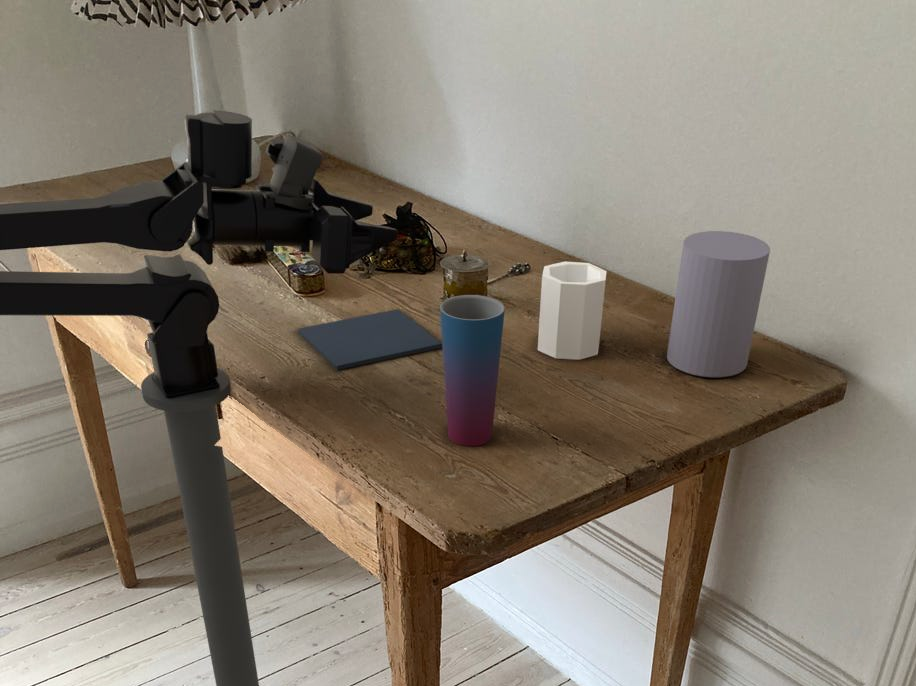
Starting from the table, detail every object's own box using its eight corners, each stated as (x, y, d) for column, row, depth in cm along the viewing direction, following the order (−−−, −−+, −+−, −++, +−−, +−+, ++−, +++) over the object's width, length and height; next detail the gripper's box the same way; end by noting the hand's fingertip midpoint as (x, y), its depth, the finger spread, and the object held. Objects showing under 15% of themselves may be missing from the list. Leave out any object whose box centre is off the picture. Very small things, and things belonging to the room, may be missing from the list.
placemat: (337, 370, 129) (337, 365, 129) (298, 332, 138) (297, 328, 138) (442, 347, 135) (442, 343, 135) (398, 313, 144) (398, 308, 144)
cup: (433, 445, 115) (432, 315, 106) (448, 418, 120) (449, 291, 111) (492, 453, 114) (496, 323, 104) (505, 425, 119) (511, 298, 109)
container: (671, 341, 138) (688, 227, 129) (748, 351, 137) (771, 236, 127) (661, 373, 131) (679, 254, 121) (744, 384, 129) (768, 264, 119)
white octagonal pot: (609, 357, 134) (617, 282, 128) (546, 362, 132) (551, 287, 126) (579, 321, 143) (585, 249, 137) (520, 326, 141) (523, 253, 135)
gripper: (272, 163, 103) (418, 170, 109) (233, 119, 116) (365, 127, 122) (270, 274, 110) (408, 275, 116) (233, 221, 123) (358, 224, 129)
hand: (384, 222), depth 120 cm, fingers open, 9 cm apart
